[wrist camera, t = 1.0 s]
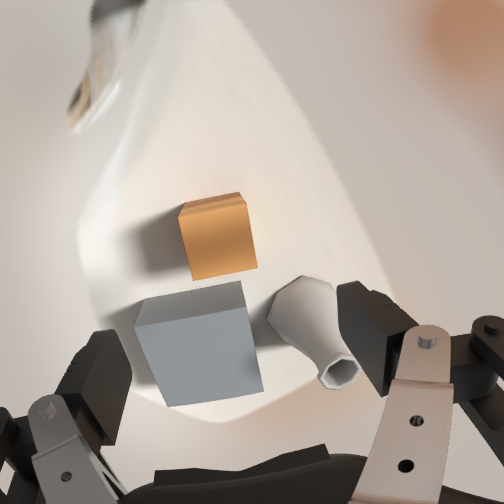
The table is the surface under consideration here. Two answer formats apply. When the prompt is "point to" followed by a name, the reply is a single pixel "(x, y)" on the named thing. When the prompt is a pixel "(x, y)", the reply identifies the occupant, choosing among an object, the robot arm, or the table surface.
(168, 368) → the pedestal
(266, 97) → the table surface
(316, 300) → the flask
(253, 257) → the orange block
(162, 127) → the table surface
